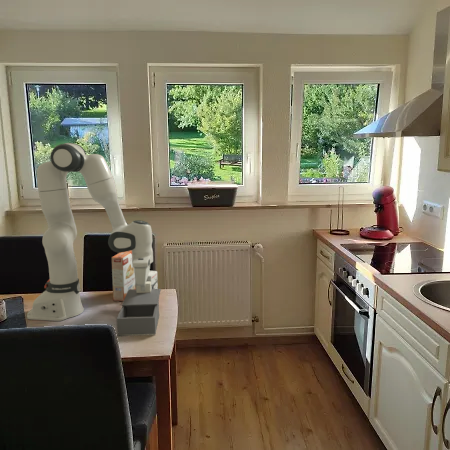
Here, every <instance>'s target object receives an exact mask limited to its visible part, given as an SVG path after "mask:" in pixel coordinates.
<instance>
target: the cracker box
mask: <svg viewBox="0 0 450 450" xmlns="http://www.w3.org/2000/svg"><path fill="white" fill-rule="evenodd" d="M111 272H112V273H111V275H112V276H111V277H112V298H113V299H112V300H113V301H117V302H118V301H119V302H123V301H124V299H125V297H126V294H127V292H128V290H132V289H136V281H135V273H134V267H133V265H132V250H131V251H126V252H120V253H119V252H117V254H115V255H114V256H111Z"/></svg>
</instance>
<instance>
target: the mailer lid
mask: <svg viewBox="0 0 450 450" xmlns="http://www.w3.org/2000/svg"><path fill="white" fill-rule="evenodd" d="M135 287H136V289H132V290H128V292H127V294H126V297H125V299H124V301H122V304H121V307H122V306H150V305H157V304H158V300H159V299H160V295H161V291H162V288H158V289H151V281H149V282H146V283H145V291H141V287H140V286H137V285H136V284H135Z"/></svg>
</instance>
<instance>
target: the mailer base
mask: <svg viewBox="0 0 450 450" xmlns="http://www.w3.org/2000/svg"><path fill="white" fill-rule="evenodd" d="M159 303H160V301H159V300H158V304H157V305H150V306H122V305H121V307H120V311H119V312H118V315H117V317H116V330H117V331H116V333H117V337H128V336H129V337H134V336H135V337H136V336H137V337H138V336H140V337H141V336H156V334H157V328H158V323H159V318H160V304H159Z"/></svg>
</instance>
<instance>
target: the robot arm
mask: <svg viewBox="0 0 450 450" xmlns="http://www.w3.org/2000/svg"><path fill="white" fill-rule="evenodd" d="M49 155H50V156H49V157H50V158H49V159H50V161H45V162H43V163H41V164H40V165H39V166H38V167H37V170H36V176H37V177H36V179H37V180H36V182H37V189H38V190H37V191H38V196H39V202H40V207H41V212H42V214H43V216H44V218H45V220H46V225H47V229H46V230H45V231H44V233H43V234H42V241H41V242H42V246H43V248H44V253H45V256H46V260H47V264H48V265H47V266H48V273H49V276H48V277H49V279H48V280H47V281H46V283H45V285H44V289H45V290H44V291H43V292H41V294H39V295H38V296H37V297H36V298H35V299H34V301H33V303H32V308H31V309H29V310H28V312H27V314H26V319H27V320H32V321H33V320H35V321H53V322H54V321H55V322H61V321H65V320H67V319H69V318H73V317H76V316H79V315H81V314H82V313H84V311H85V309H84V306H83V303H82V300H81V294H80V291H81V287H80V286H81V285H80V278H78V277H79V276H78V261H77V258H76V256H75V250H74V242H75V240H76V239H77V236H78V229H77V225H76V222H75V218H74V214H73V211H72V208H71V202H70V196H69V190H68V182H67V175H68V173H80V174H81V175H82V178H83V179H84V183H85V185H86V188H87V190H88V192H89V194H90V196H91V198H92V200H94V202H96V203H97V204H99V205H101V206H102V207H103V208H104V210H105V212H106V214H107V216H108V220H109V223H110V224H111V228H112V230H111V233H110V235H109V237H108V241H107V244H108V247H109V249H110V250H111V251H113V252H115V253H120V252H126V251H132V265H133V267H134V273H135V286H136V285H137V286H140V287H141V291H145V283H146V282H147V278H148V275H149V272H150V271H151V270H150V269H151V264H153V262H154V251H153V231H152V230H153V229H152V226H151V224H150V223H149V222H148V221H145V220H133V221H132V222H130V223H128V222H127V221H126V218H125V215H124V213H123V211H122V208H121V205H120V201H119V197H118V193H117V191H118V190H117V187H116V181H115V179H114V176H113V174H112V171H111V168H110V167H109V165H108V162H107V161H106V159H105V157H104V156H102V155H101V154H98V153H91V154H87V152H86V151H85V148H83V146H81V145H80V144H77V143H73V142H65V143H60V144H58V145H56V146H55V147H54V148H52V150H51V152H50V154H49Z"/></svg>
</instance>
